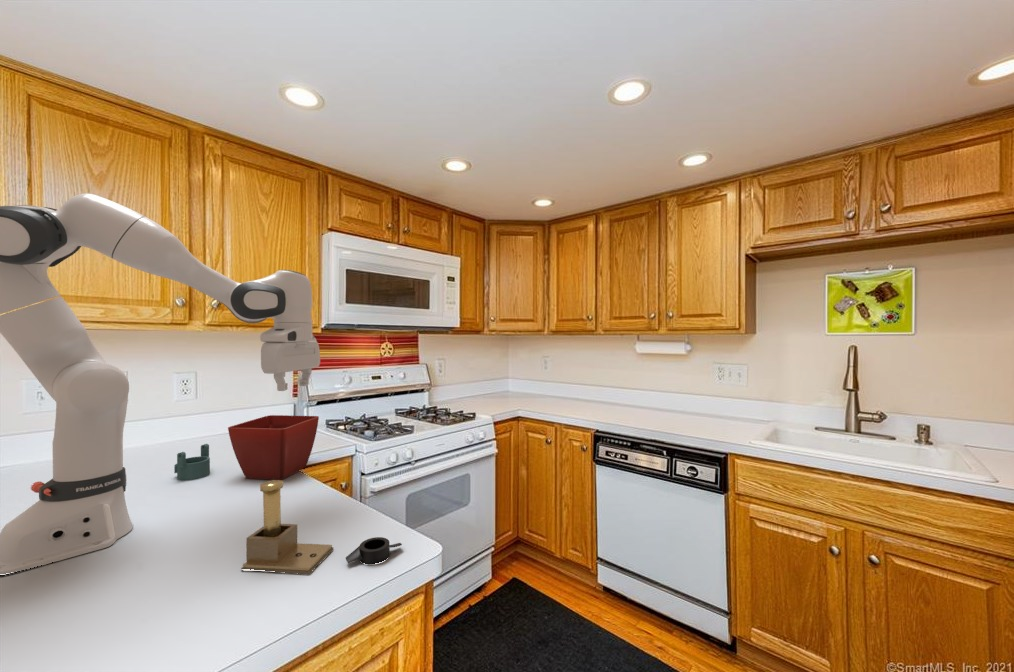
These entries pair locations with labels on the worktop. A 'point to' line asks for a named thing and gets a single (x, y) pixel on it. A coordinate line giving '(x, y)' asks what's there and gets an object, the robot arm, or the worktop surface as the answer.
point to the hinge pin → (271, 507)
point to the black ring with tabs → (371, 551)
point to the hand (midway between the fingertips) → (293, 388)
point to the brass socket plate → (283, 552)
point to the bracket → (193, 465)
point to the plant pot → (273, 445)
